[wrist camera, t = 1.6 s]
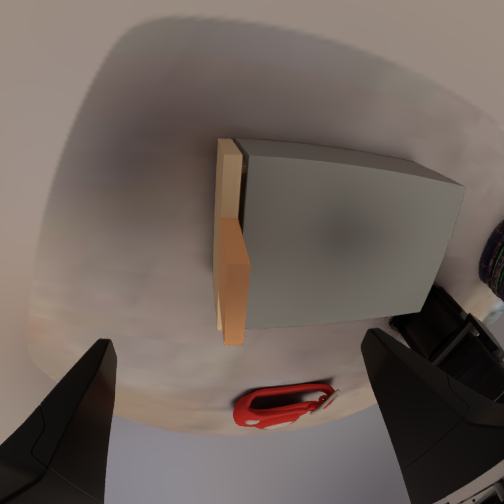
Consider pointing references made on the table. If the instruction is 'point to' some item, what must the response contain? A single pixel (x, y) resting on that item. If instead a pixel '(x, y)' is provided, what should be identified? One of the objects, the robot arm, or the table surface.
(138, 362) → the table surface
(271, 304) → the sleeve
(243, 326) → the beige open box
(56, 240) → the table surface
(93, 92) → the table surface
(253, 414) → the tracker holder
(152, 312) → the table surface
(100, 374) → the robot arm
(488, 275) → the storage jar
